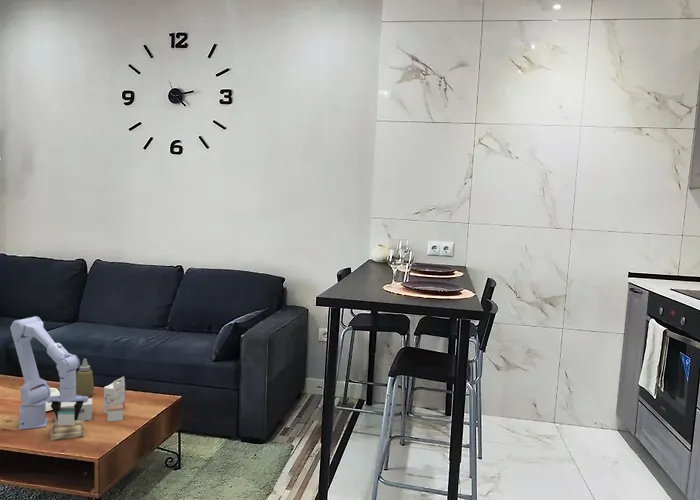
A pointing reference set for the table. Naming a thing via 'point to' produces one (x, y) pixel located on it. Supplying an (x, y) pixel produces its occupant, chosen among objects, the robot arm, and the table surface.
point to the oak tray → (66, 431)
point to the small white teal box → (66, 416)
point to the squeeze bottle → (84, 380)
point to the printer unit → (84, 412)
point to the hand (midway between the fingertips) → (67, 419)
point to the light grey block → (115, 413)
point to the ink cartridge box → (114, 394)
